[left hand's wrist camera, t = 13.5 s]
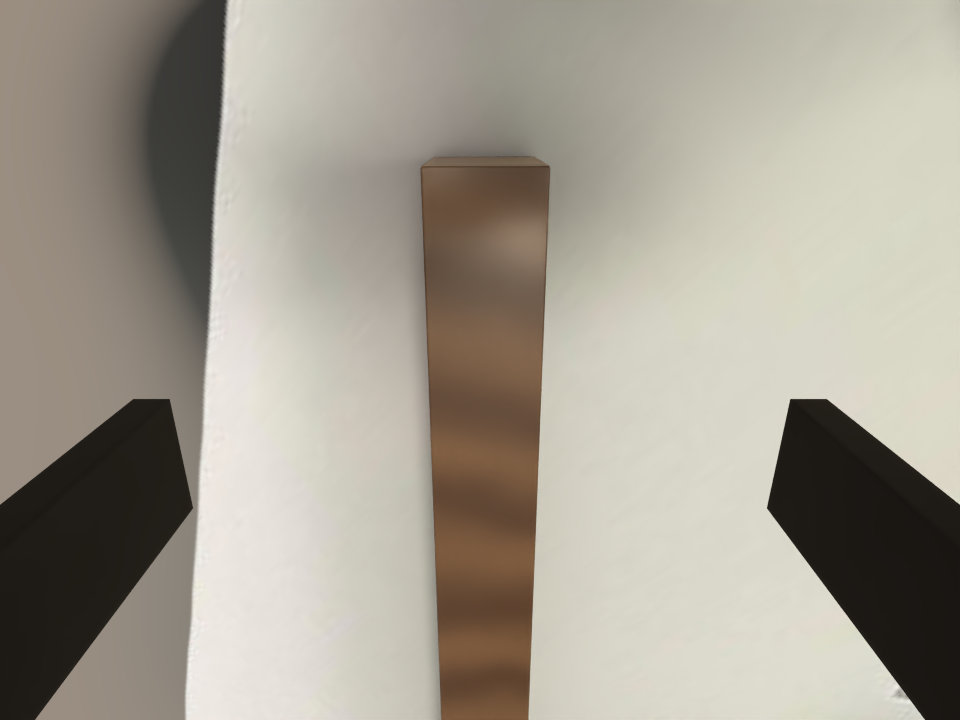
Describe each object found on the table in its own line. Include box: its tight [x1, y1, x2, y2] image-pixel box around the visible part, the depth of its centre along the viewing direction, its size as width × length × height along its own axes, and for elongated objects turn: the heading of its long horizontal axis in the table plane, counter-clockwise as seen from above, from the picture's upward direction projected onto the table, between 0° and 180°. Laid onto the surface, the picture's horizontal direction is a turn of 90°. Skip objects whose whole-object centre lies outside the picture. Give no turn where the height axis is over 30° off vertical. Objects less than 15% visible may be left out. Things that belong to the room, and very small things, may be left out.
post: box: [421, 157, 550, 720], centre depth 43 cm, size 74×6×8 cm, turn 0°
